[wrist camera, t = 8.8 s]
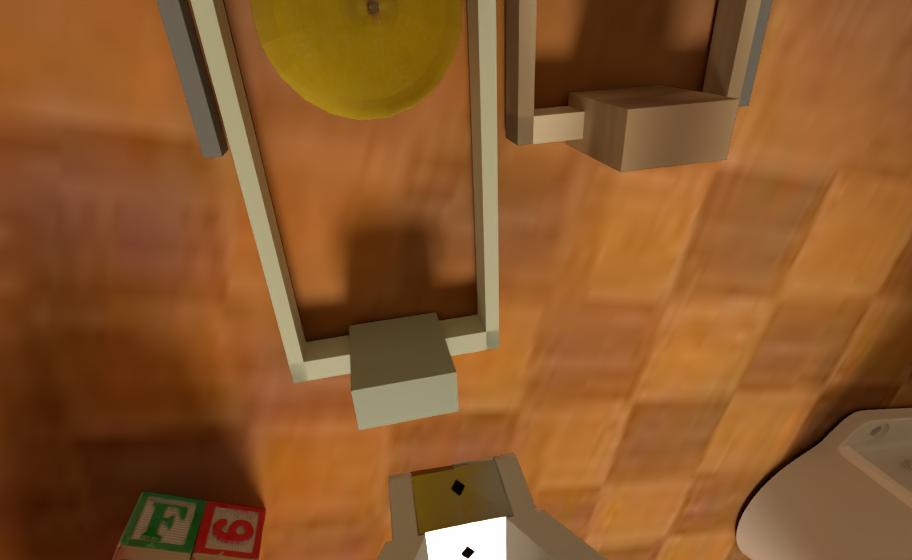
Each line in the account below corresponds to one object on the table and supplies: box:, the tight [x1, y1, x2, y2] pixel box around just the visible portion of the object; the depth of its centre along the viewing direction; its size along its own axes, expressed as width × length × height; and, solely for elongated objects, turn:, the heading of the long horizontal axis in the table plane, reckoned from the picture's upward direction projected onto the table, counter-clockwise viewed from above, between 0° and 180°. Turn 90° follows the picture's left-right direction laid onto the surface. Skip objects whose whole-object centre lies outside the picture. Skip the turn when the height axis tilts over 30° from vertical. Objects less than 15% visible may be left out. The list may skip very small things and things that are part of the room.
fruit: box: [250, 0, 462, 120], centre depth 13 cm, size 6×6×8 cm
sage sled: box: [191, 0, 499, 430], centre depth 17 cm, size 9×18×4 cm, turn 3°
